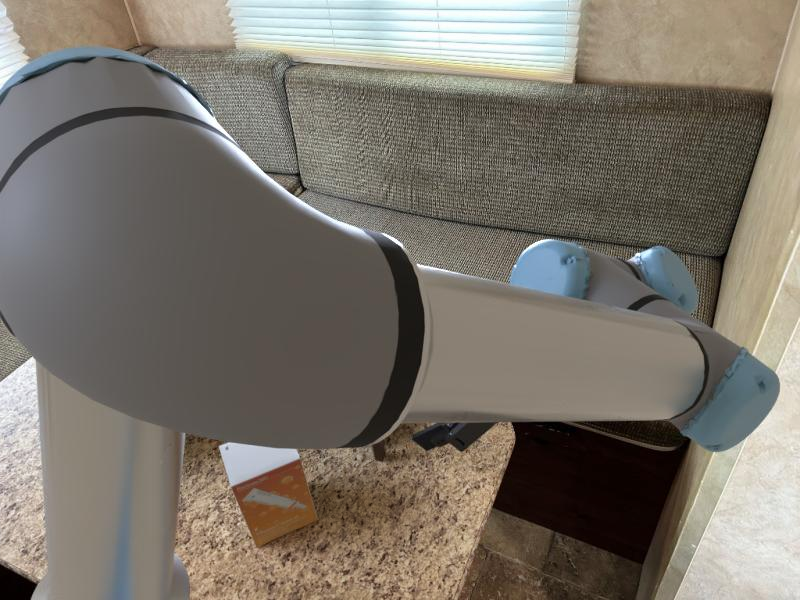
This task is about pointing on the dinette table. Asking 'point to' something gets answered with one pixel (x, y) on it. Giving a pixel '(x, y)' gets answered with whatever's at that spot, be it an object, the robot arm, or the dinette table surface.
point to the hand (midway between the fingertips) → (433, 403)
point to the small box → (268, 489)
